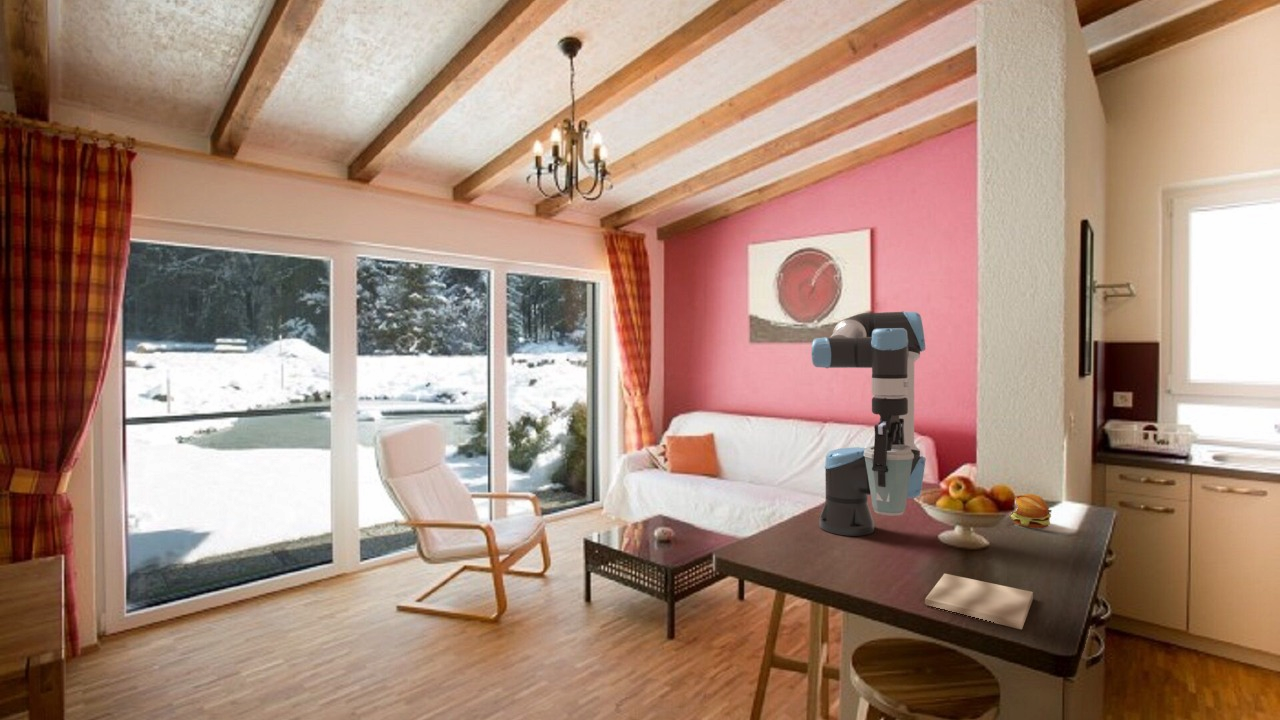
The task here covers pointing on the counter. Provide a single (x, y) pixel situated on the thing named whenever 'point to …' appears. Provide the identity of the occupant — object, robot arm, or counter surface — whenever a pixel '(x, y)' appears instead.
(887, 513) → the disposable coffee cup
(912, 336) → the robot arm
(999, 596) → the birch board
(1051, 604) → the counter surface
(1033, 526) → the cheeseburger
